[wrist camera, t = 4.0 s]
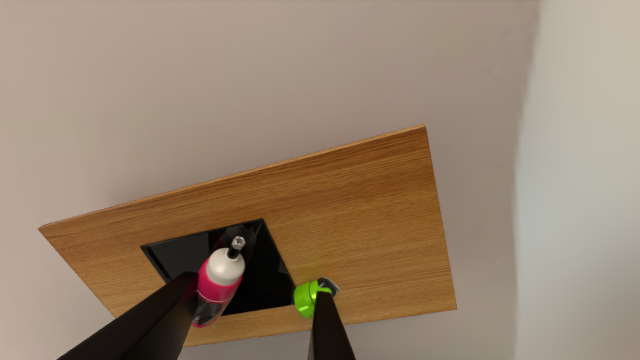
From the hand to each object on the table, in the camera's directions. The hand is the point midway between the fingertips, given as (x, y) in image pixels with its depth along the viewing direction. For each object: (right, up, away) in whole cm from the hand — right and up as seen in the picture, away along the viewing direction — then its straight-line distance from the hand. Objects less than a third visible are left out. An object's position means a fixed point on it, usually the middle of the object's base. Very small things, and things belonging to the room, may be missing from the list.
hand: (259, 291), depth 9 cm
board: (0, +1, +1) cm, 1 cm away
